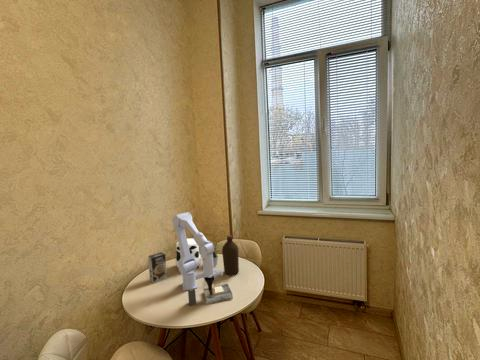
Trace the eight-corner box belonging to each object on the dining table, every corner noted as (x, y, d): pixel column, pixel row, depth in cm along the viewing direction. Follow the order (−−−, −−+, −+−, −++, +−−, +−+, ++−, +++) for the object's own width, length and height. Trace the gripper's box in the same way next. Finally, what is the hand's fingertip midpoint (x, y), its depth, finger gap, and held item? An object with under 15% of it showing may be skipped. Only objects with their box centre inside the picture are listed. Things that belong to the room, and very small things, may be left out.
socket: (203, 292, 143) (203, 287, 143) (227, 287, 147) (227, 282, 147) (206, 303, 132) (206, 298, 132) (232, 298, 136) (232, 293, 135)
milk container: (196, 259, 191) (194, 236, 190) (205, 267, 176) (203, 242, 175) (173, 265, 182) (171, 241, 181) (180, 274, 168) (178, 248, 166)
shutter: (211, 289, 141) (210, 283, 141) (221, 287, 143) (221, 281, 143) (213, 294, 136) (212, 289, 135) (223, 292, 137) (223, 286, 137)
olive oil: (236, 277, 159) (233, 238, 157) (220, 275, 163) (218, 237, 161) (242, 269, 169) (239, 233, 167) (227, 268, 173) (225, 232, 171)
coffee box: (153, 283, 157) (151, 258, 156) (149, 280, 162) (147, 255, 160) (167, 278, 163) (165, 254, 162) (163, 275, 168) (161, 251, 166)
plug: (188, 302, 134) (187, 288, 133) (195, 301, 135) (194, 286, 134) (189, 306, 131) (188, 291, 130) (196, 304, 132) (195, 290, 131)
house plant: (229, 264, 179) (227, 241, 178) (214, 271, 169) (212, 247, 168) (216, 259, 189) (214, 238, 188) (201, 265, 180) (199, 243, 178)
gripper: (195, 270, 131) (197, 295, 132) (222, 266, 135) (224, 290, 136) (194, 265, 138) (195, 289, 139) (220, 261, 142) (221, 284, 143)
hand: (209, 289), depth 138 cm, fingers closed
